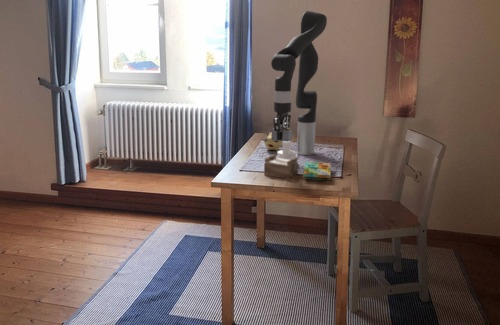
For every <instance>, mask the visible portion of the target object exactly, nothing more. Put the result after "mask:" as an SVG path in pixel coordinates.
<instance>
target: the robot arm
mask: <svg viewBox="0 0 500 325" xmlns="http://www.w3.org/2000/svg"><path fill="white" fill-rule="evenodd" d="M327 23H328V18H327V16H326V15H325V14H323V13H320V12H315V11H310V10H306V11H304V12H303V14H302V17H301V20H300V34H299V35H296V36H294V37H293V38H292V39H291V40H290V41H289V42H288V43H287V45H286V46H285V47H284V48H282V49H280V50H279V51H278V52H276V53H275V54H274V55H273V56H272V59H271V62H270V63H271V64H270V65H271V68H272V69H273V70H274V71H277V72H283V75H282V76H278V77H276V78H275V79H274V94H273V111H274V112H275V113H276V117H275V118H274V117H273V119H272V122H273V128H274V131H276V132H277V140H282V129H283V128H286V127H289V128H290V125H291V118H292V115H291V114H289V113H290V112H291V111H292V79H293V76H294V73H295V69H296V65H297V62H296V59H298V58H299V61H298V80H297V86H296V87H297V88H296V93H295V94H296V95H295V106H296V108H297V109H300V110H301V109H302V110H303V109H305V110H307V109H309V110H308V111H307V112H304V113H302V114H300V115H298V117H297V139H296V140H297V142H296V154H298V155H302V156H310V155H311V156H312V155H314V154H315V145H316V144H315V141H316V140H315V139H316V117H317V105H318V94H317V91H315V90H305V88H306V86H307V84H308V83H309V82H310V80H312V79H313V78H314V76H315V75H316V73H317V71H318V68H319V67H318V66H319V54H318V52H317V50H316V48H315V46H314V44H313V42H314V41H315V40H316V39H317V38H318V37H320V35H322V34H323V33H324V31H325V29H326V27H327V25H328V24H327ZM276 126H277V128H276Z"/></svg>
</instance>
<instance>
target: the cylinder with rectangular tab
mask: <svg viewBox="0 0 500 325" xmlns="http://www.w3.org/2000/svg"><path fill="white" fill-rule="evenodd" d="M276 154H277V156H276V158H282V159H289V160H291V159H293V158H295V157H297V156H296V154H297V151H295V150H292V140H291V141H289V142H286V141H283V143H282V150H278V151H276Z"/></svg>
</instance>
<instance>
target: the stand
mask: <svg viewBox="0 0 500 325" xmlns="http://www.w3.org/2000/svg"><path fill="white" fill-rule="evenodd" d="M276 154H277V153H275V154H271V155H269V156H267V157H265V158H264V163H263V164H264V166H263V167H264V169H263V170H264V171H263V172H264V173H263V174H264V175H266V176H271V177H277V178H283V179H284V178H285V179H290V178H292V177H293V176H295V175H297V174H298V168H299V166H298V164H299V163H298V162H299V161H298V157H297V156H296V157H295V158H293V159H291V160H289V159H282V158H277V156H276Z"/></svg>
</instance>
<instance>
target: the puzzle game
mask: <svg viewBox="0 0 500 325" xmlns="http://www.w3.org/2000/svg"><path fill="white" fill-rule="evenodd" d="M331 165H332V163H331V162H318V161H317V162H315V161H313V162H312V161H311V162H310V161H305V163H304V169H303V173H302V174H303V175H302V176H303V178H305V179H306V180H315V181H317V180H318V181H328V180H329V179H331V174H332V173H331V171H332V169H331V168H332V166H331Z"/></svg>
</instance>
